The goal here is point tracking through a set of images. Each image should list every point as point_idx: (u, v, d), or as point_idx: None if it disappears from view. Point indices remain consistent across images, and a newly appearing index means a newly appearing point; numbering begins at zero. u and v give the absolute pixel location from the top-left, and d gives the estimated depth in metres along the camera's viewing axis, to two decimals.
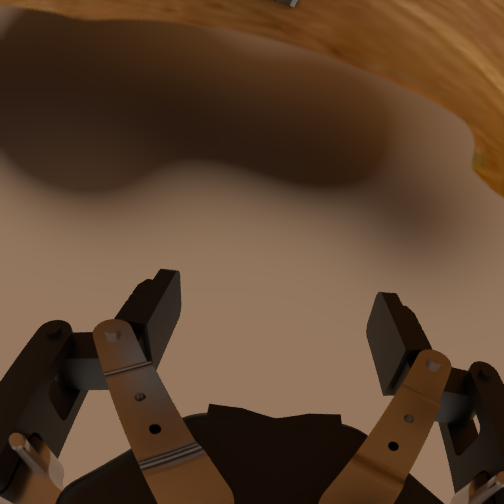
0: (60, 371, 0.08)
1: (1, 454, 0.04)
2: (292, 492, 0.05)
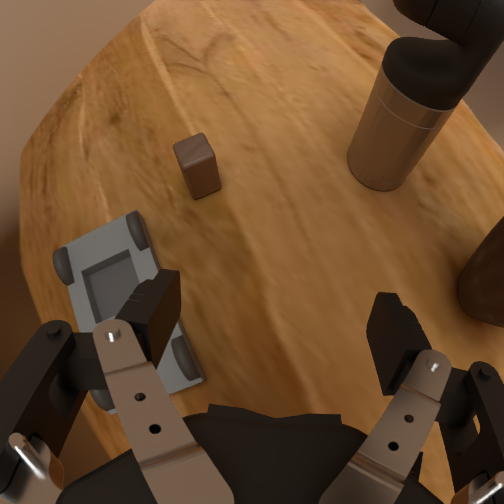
0: (60, 371, 0.08)
1: (1, 454, 0.04)
2: (292, 492, 0.05)
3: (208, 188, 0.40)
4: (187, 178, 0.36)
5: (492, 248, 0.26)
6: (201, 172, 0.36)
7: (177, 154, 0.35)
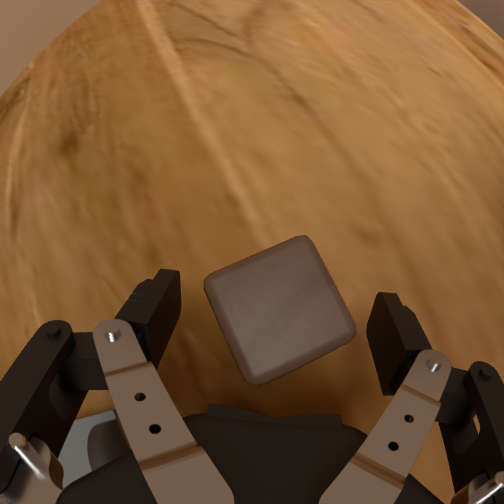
0: (60, 371, 0.08)
1: (1, 454, 0.04)
2: (292, 492, 0.05)
3: None
4: None
5: None
6: None
7: (224, 324, 0.10)
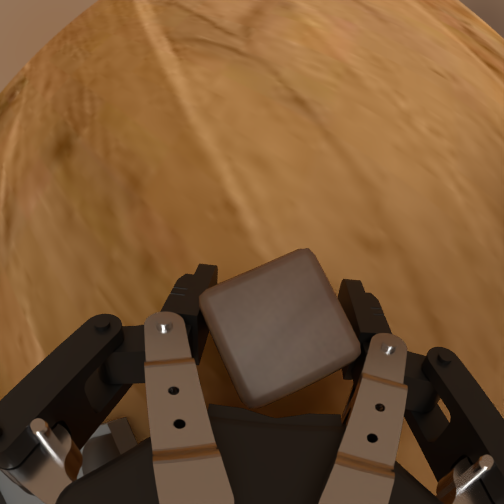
0: (103, 365, 0.09)
1: (19, 435, 0.05)
2: (292, 492, 0.05)
3: None
4: None
5: None
6: None
7: (221, 344, 0.09)
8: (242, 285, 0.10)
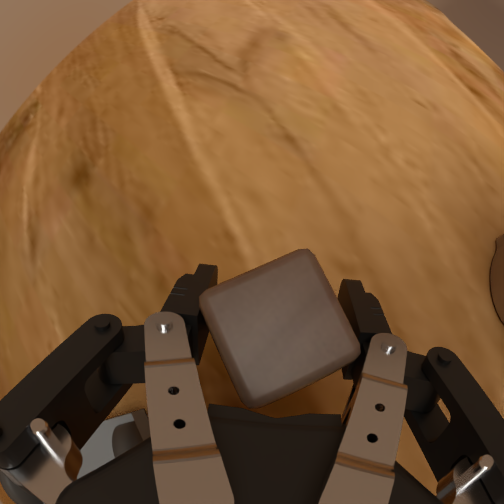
0: (103, 365, 0.09)
1: (19, 435, 0.05)
2: (291, 492, 0.05)
3: None
4: None
5: None
6: None
7: (221, 345, 0.09)
8: (242, 285, 0.10)
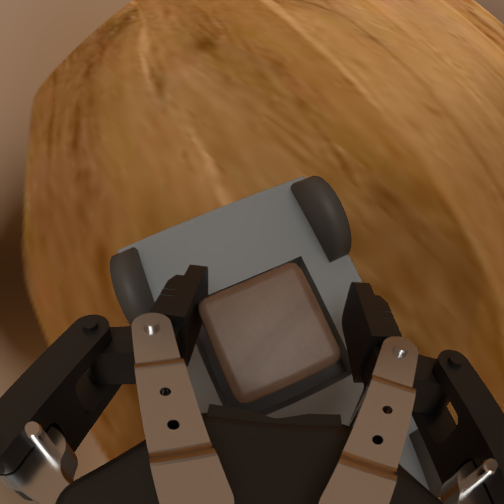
0: (92, 366, 0.08)
1: (14, 439, 0.05)
2: (292, 492, 0.05)
3: None
4: None
5: None
6: None
7: (216, 346, 0.11)
8: (235, 295, 0.11)
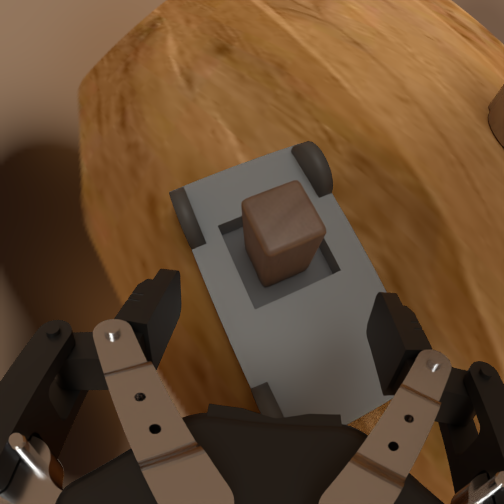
0: (60, 371, 0.08)
1: (1, 454, 0.04)
2: (291, 492, 0.05)
3: (291, 272, 0.24)
4: (268, 267, 0.20)
5: None
6: (294, 257, 0.20)
7: (253, 223, 0.19)
8: (264, 195, 0.19)
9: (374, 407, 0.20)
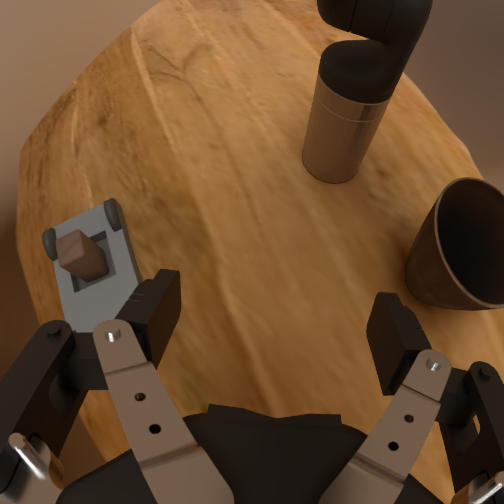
0: (60, 371, 0.08)
1: (1, 454, 0.04)
2: (292, 492, 0.05)
3: (94, 274, 0.41)
4: (68, 271, 0.37)
5: (424, 227, 0.32)
6: (79, 267, 0.37)
7: (57, 251, 0.35)
8: (63, 237, 0.36)
9: None
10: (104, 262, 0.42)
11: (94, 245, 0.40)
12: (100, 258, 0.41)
